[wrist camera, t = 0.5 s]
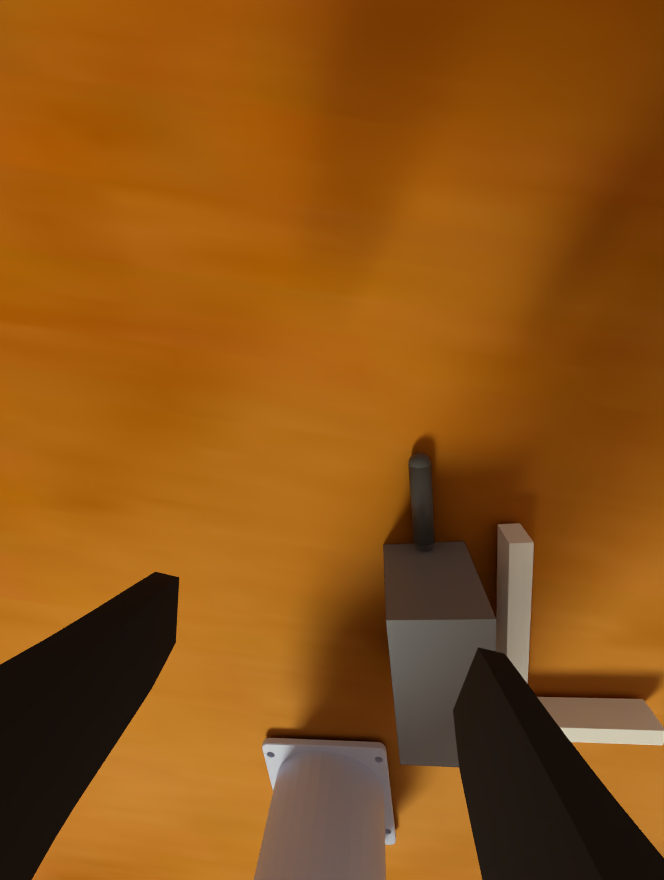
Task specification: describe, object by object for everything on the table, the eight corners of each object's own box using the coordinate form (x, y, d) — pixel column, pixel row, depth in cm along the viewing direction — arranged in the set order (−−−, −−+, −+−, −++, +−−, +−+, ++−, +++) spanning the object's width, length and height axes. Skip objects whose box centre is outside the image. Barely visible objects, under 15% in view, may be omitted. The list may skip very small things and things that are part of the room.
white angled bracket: (640, 712, 20) (663, 745, 18) (495, 709, 21) (504, 739, 19) (674, 516, 16) (705, 536, 15) (497, 524, 17) (509, 543, 16)
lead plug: (466, 678, 20) (494, 784, 16) (395, 677, 21) (401, 779, 16) (462, 446, 16) (497, 495, 12) (374, 453, 17) (374, 502, 12)
